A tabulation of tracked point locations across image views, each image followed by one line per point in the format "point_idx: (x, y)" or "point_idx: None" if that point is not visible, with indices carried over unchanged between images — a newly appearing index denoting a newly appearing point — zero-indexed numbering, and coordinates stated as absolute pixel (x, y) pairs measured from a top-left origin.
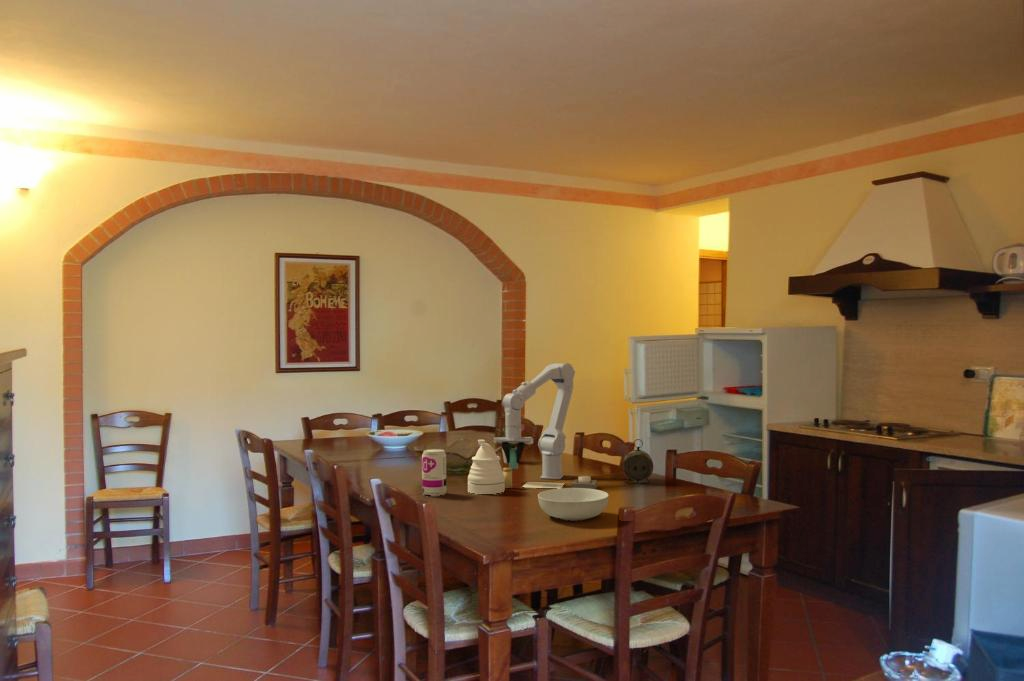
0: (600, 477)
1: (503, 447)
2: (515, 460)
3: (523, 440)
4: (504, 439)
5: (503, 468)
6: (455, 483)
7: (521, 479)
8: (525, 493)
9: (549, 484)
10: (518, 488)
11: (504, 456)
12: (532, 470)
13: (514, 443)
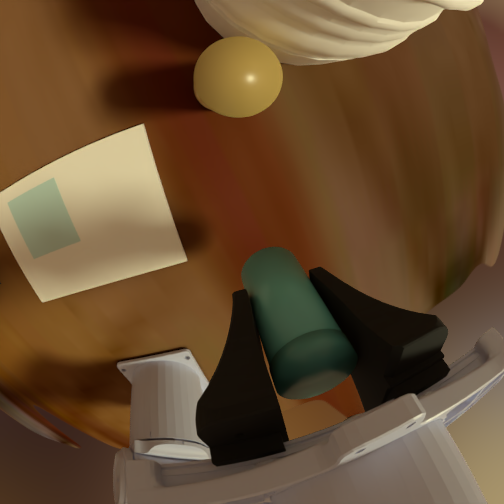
0: (62, 404)
1: (415, 320)
2: (262, 295)
3: (210, 484)
4: (455, 394)
5: (270, 56)
6: (455, 129)
7: None
8: (71, 20)
9: (66, 256)
10: (155, 104)
11: None
12: None
13: None
